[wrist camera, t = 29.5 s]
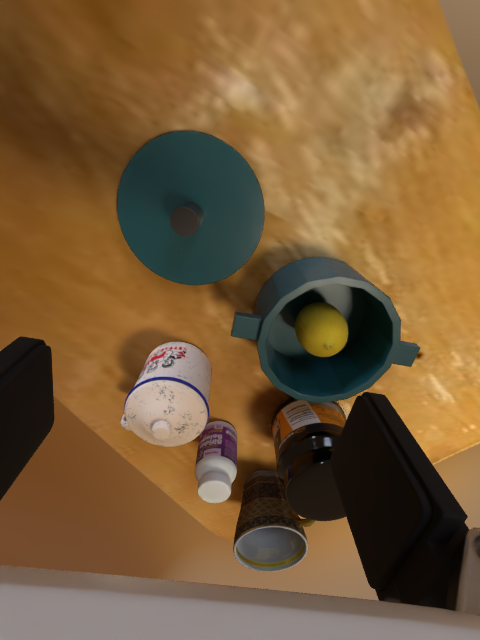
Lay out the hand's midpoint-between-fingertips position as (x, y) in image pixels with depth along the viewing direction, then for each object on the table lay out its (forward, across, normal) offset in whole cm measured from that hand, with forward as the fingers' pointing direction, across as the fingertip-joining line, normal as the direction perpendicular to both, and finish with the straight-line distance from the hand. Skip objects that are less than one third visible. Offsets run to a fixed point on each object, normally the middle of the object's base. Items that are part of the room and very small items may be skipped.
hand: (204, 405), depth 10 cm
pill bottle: (+28, -4, +28) cm, 40 cm away
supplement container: (+28, -16, +23) cm, 40 cm away
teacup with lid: (+28, +4, +19) cm, 34 cm away
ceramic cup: (+28, -14, +36) cm, 48 cm away
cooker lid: (+28, +4, -2) cm, 28 cm away
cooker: (+28, -12, +7) cm, 32 cm away
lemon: (+28, -12, +7) cm, 31 cm away
